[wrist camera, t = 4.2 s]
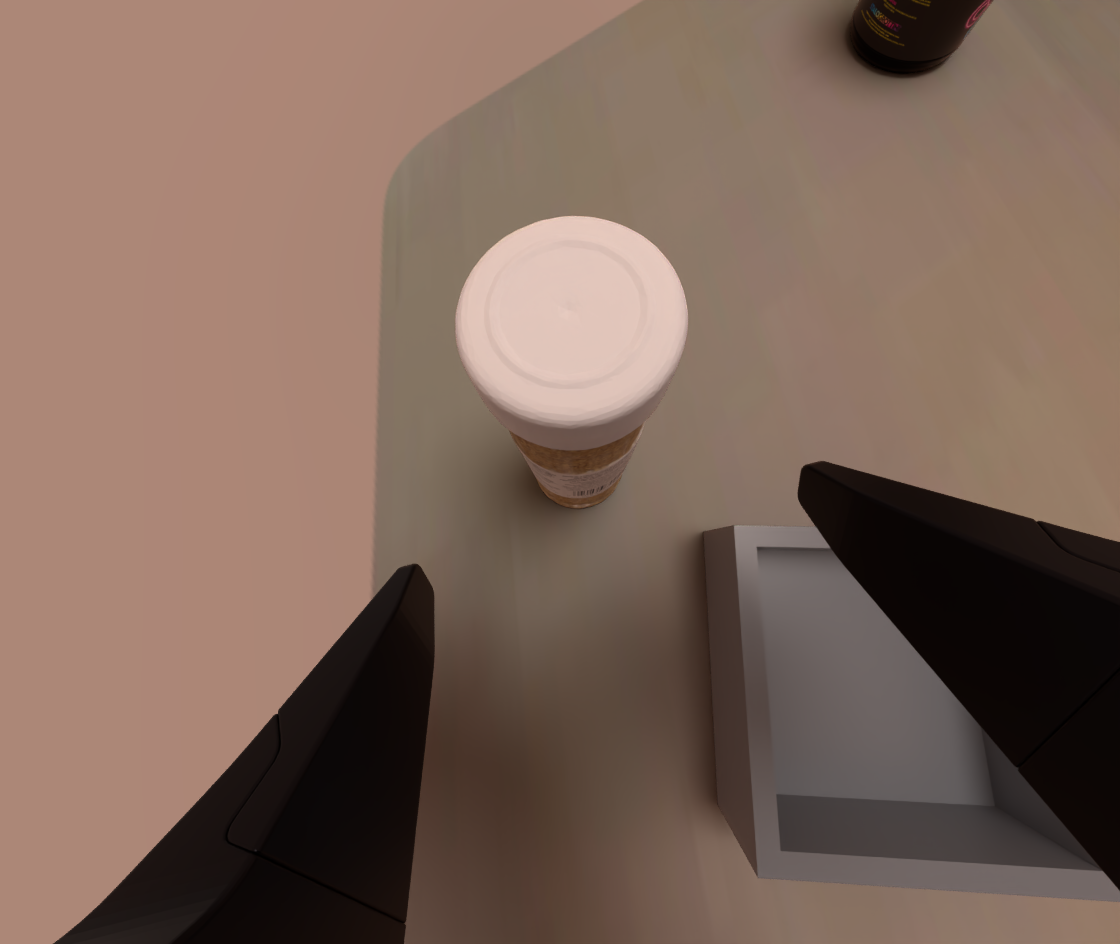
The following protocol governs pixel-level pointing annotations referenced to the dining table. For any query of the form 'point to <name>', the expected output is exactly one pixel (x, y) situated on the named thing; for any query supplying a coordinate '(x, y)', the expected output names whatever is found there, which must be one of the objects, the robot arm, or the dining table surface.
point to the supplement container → (912, 31)
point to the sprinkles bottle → (572, 346)
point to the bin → (859, 740)
